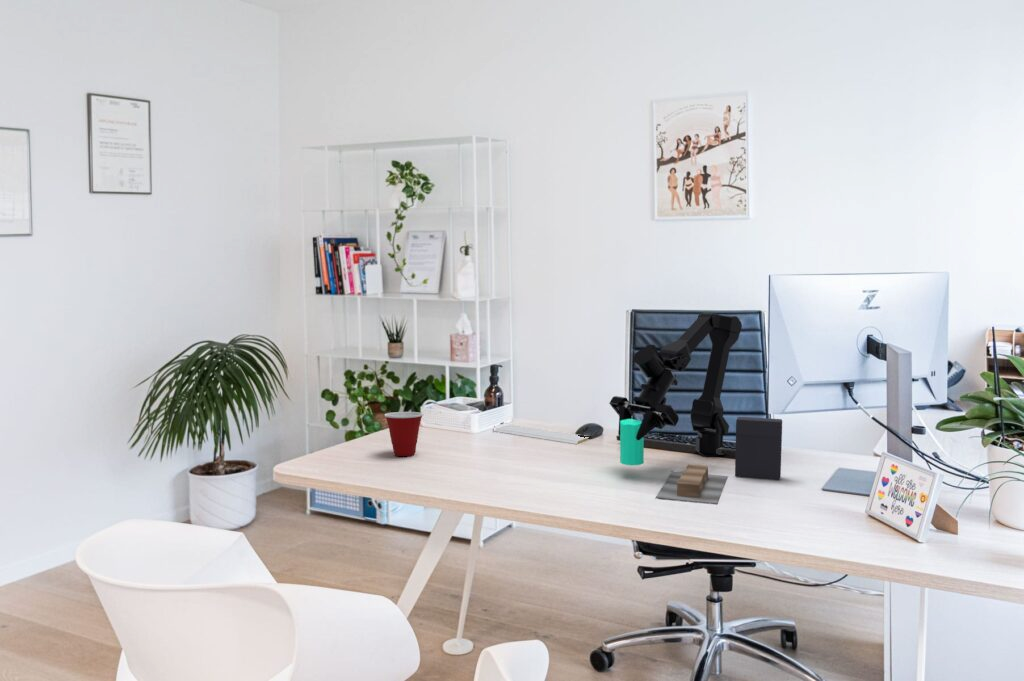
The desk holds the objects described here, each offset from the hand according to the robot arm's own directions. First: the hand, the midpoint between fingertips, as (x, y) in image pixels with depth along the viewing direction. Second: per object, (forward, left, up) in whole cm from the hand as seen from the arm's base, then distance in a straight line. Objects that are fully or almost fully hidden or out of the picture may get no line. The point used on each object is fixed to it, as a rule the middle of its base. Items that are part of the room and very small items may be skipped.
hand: (628, 437), depth 220 cm
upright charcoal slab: (-32, +6, -11) cm, 34 cm away
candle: (-1, -1, -7) cm, 7 cm away
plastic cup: (+54, -36, -11) cm, 66 cm away
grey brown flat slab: (-13, +11, -10) cm, 20 cm away
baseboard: (+11, -51, -11) cm, 53 cm away
